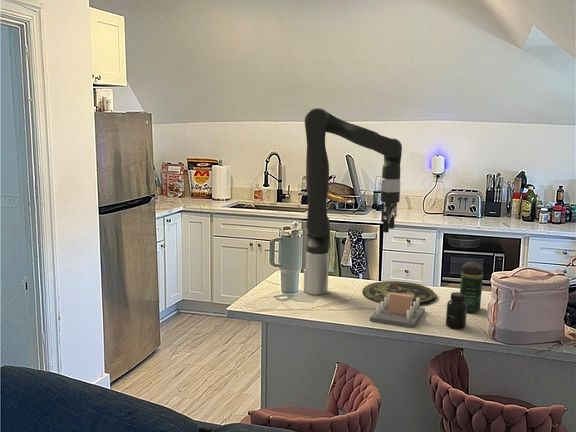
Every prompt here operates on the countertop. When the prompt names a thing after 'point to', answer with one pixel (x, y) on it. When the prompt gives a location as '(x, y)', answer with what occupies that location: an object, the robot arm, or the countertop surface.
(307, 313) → the countertop surface
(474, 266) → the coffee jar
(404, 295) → the tile
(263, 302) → the countertop surface
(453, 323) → the supplement bottle
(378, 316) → the dish rack
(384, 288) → the decorative plate
